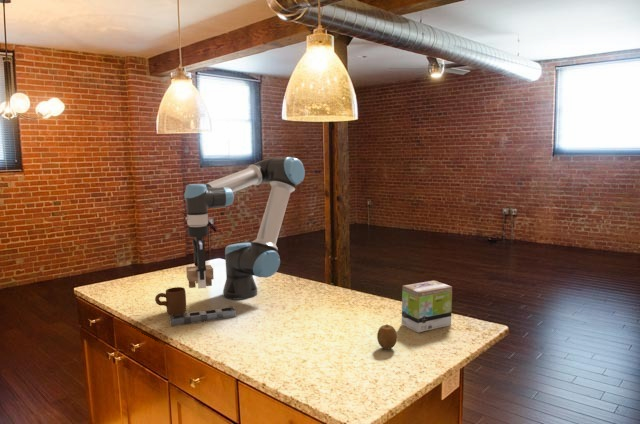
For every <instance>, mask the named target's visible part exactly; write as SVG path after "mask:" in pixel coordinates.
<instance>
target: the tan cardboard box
mask: <svg viewBox="0 0 640 424" xmlns="http://www.w3.org/2000/svg"><path fill="white" fill-rule="evenodd" d="M185 269H186V279H187V281H188V287H189V289H194V288H196V287H197V286H196V285H197V283H196V281H198V272H196V270H198V266H195V265H194V266H193V265H192V266H186V267H185ZM205 276H206V287H211V286H213V284H212V283H213V281H212V280H214V268H213V266H212V265H211V264H206V270H205Z"/></svg>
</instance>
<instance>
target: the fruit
mask: <svg viewBox="0 0 640 424" xmlns="http://www.w3.org/2000/svg"><path fill="white" fill-rule="evenodd" d="M376 334H377V336H376V338H377V339H376V340H377V342H378V344H379V346H380V347H381V348H383V349H385V350H389V349H393V347H395V345H396V343H397V341H398V337H397V336H398V335H397V331H396V329H395V328H394V326H392V325H391V324H384V325H381V326H380V327H379V328H378V330H377V333H376Z"/></svg>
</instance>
